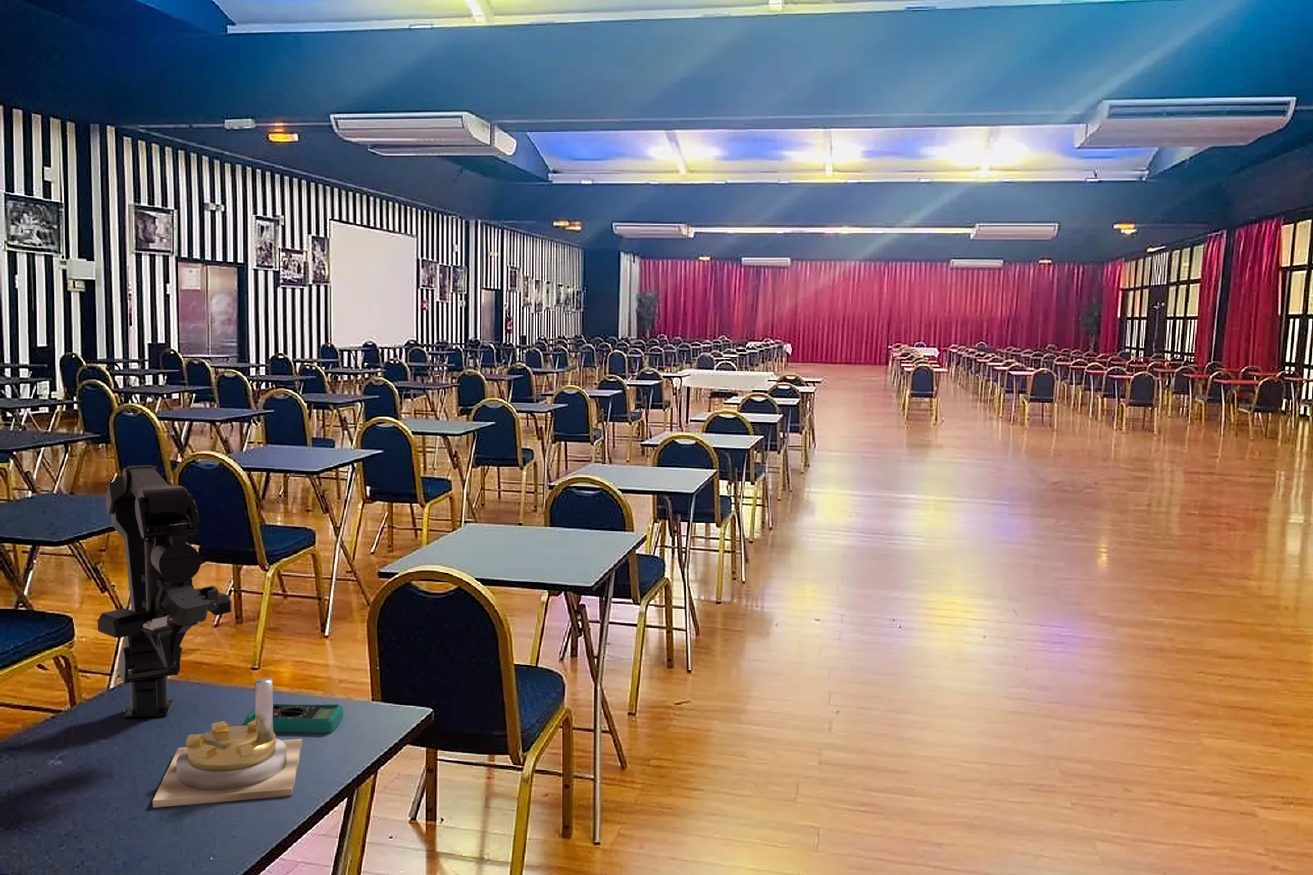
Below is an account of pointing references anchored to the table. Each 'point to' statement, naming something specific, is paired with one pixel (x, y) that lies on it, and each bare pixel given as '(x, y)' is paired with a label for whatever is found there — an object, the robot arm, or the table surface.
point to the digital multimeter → (303, 718)
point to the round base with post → (237, 738)
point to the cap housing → (230, 779)
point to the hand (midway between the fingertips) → (168, 666)
